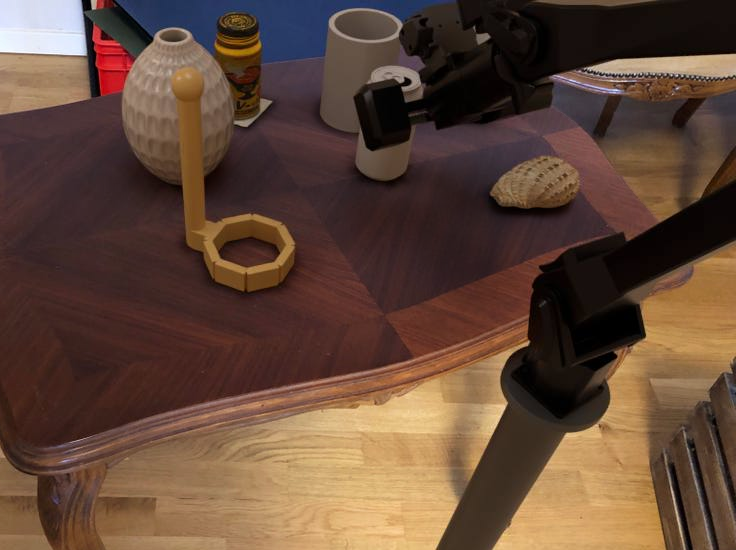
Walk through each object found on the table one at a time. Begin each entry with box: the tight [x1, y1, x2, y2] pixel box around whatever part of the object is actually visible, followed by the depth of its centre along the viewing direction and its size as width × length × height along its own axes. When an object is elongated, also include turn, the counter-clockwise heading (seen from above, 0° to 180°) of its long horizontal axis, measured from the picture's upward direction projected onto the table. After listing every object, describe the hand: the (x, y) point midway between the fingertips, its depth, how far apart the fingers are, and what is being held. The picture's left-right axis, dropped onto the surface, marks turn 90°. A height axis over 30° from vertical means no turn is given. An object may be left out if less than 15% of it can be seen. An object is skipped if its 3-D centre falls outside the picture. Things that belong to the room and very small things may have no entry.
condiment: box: [213, 11, 273, 128], centre depth 92 cm, size 7×8×12 cm
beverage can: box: [354, 65, 424, 182], centre depth 84 cm, size 6×6×12 cm
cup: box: [319, 7, 403, 134], centre depth 91 cm, size 9×9×12 cm
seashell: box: [488, 154, 581, 209], centre depth 83 cm, size 8×6×10 cm
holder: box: [171, 67, 296, 293], centre depth 70 cm, size 13×9×20 cm
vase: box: [121, 27, 235, 186], centre depth 81 cm, size 13×13×17 cm
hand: (403, 123), depth 81 cm, fingers open, 9 cm apart
